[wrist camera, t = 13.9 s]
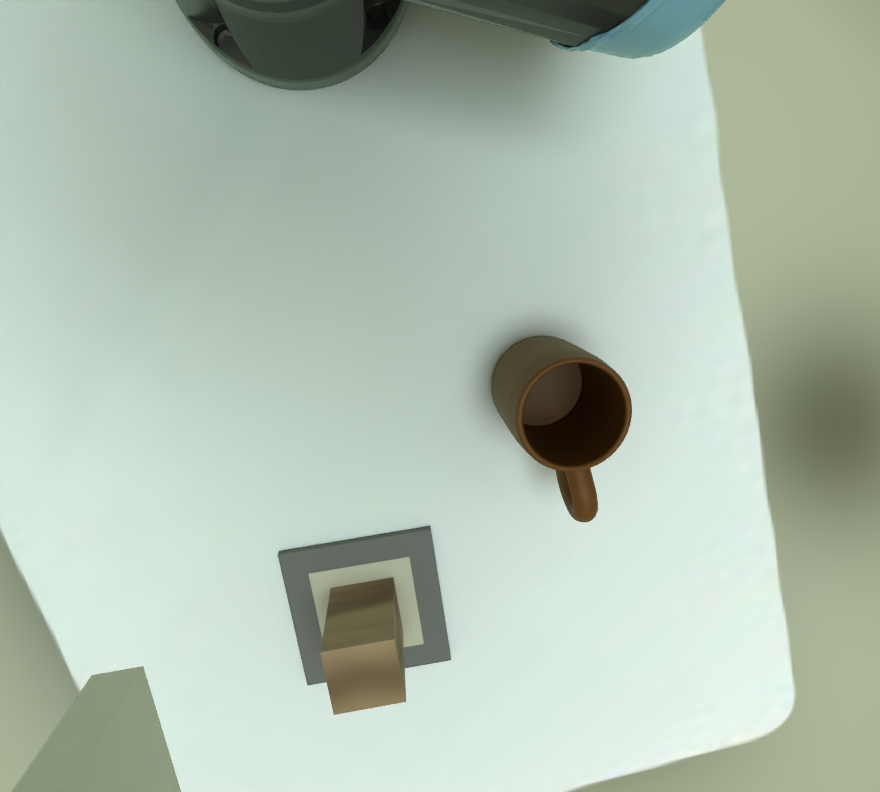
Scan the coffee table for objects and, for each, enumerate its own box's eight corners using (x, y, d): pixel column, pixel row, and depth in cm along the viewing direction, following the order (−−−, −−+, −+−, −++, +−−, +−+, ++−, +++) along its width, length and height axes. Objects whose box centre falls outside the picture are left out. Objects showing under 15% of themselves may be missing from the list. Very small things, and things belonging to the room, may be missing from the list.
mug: (601, 470, 49) (650, 522, 40) (509, 492, 49) (537, 548, 40) (579, 323, 46) (626, 343, 37) (480, 345, 46) (503, 370, 37)
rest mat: (279, 551, 48) (277, 555, 48) (430, 526, 49) (430, 529, 48) (308, 680, 51) (307, 685, 51) (450, 655, 52) (451, 660, 51)
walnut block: (330, 587, 49) (320, 652, 41) (393, 577, 49) (394, 639, 41) (342, 642, 50) (334, 714, 42) (403, 631, 50) (406, 701, 42)
